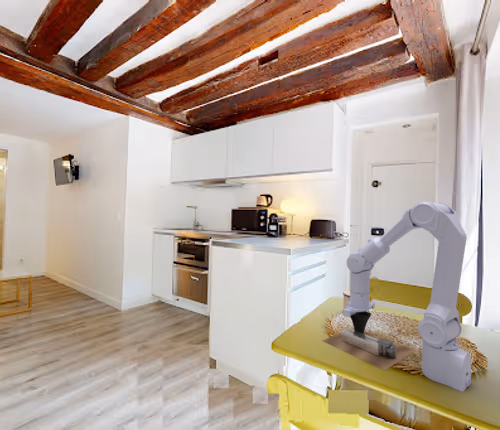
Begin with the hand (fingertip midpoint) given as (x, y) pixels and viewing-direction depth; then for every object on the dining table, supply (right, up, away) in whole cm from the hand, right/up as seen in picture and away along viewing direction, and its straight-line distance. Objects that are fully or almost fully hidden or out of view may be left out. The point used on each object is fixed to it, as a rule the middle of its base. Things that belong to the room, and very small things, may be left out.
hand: (359, 334), depth 85 cm
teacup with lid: (+9, -4, +27) cm, 28 cm away
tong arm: (+1, -2, -4) cm, 5 cm away
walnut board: (+1, -3, -3) cm, 4 cm away
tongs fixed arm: (0, -2, -5) cm, 5 cm away
